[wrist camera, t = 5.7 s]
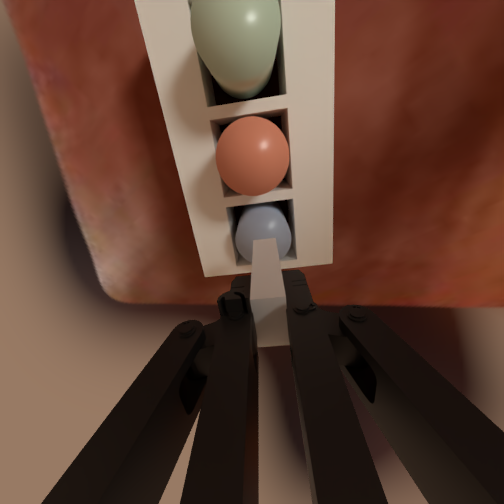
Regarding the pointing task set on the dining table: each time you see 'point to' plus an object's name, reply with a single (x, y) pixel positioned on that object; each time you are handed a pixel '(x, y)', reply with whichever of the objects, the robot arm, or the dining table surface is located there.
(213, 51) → the button sage
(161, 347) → the robot arm
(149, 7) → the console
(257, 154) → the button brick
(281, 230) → the button slate
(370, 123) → the dining table surface
